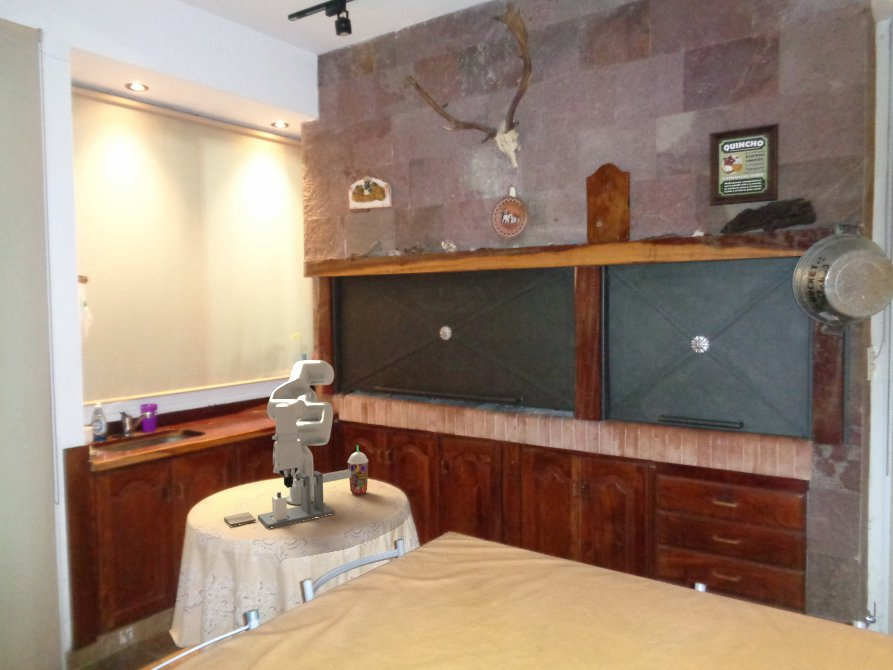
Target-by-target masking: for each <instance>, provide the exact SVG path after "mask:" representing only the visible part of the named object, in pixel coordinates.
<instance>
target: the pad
mask: <svg viewBox="0 0 893 670" xmlns="http://www.w3.org/2000/svg"><path fill="white" fill-rule="evenodd" d="M223 520H224V522H226V524H227V523H228V524H229V525H230V526H234V527H236V526H235V525H238V526H240V525H239V524H243V525H245V524H244V523H248V524H250V523H249V522H253V523H255V522H254V521H257V518H256V517H254V515H252V514H251V512H249V511H248V512H243V513H242V512H241V513H238V514H232V515H228V516H224V517H223ZM228 524H227V525H228ZM229 525H228V526H229ZM230 526H229V527H230Z"/></svg>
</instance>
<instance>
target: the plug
mask: <svg viewBox="0 0 893 670" xmlns="http://www.w3.org/2000/svg"><path fill="white" fill-rule="evenodd" d="M286 497H287V496H285V495H284V494H282V492H281V491H279V492H276V495H273V496H271V504H272V507H271V508H272V512H273V517H271V518H272V519H273V520H274V521H277V520H282V519H286V518H288V517H287V509H288V507H287V506H288V505H287V504H288V503H287V501H286Z"/></svg>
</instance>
